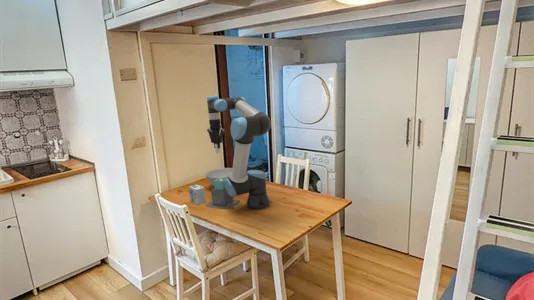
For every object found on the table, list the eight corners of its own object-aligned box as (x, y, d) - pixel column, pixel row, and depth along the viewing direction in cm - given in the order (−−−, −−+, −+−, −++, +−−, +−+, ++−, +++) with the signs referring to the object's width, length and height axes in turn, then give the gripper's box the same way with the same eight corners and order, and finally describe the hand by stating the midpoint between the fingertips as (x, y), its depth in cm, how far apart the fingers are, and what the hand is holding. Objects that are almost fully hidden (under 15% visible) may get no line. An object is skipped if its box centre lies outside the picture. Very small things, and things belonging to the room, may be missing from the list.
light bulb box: (190, 201, 233) (188, 186, 230) (198, 198, 237) (197, 184, 234) (197, 204, 225) (195, 189, 222) (206, 202, 229) (204, 187, 226)
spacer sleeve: (228, 187, 222) (227, 178, 221) (223, 190, 216) (222, 181, 215) (220, 186, 225) (219, 177, 223) (214, 189, 219) (214, 180, 218)
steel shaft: (225, 201, 223) (223, 178, 220) (223, 202, 221) (221, 179, 218) (222, 200, 224) (220, 178, 221) (220, 202, 222) (218, 179, 219)
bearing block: (240, 201, 225) (238, 186, 223) (229, 209, 213) (227, 193, 211) (217, 199, 233) (216, 183, 231) (206, 206, 221) (204, 190, 218)
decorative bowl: (203, 186, 264) (201, 171, 261) (235, 180, 274) (233, 166, 272) (212, 196, 240) (211, 180, 237) (247, 188, 250) (245, 173, 248)
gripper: (203, 119, 224) (206, 153, 229) (219, 119, 218) (222, 154, 223) (209, 118, 230) (213, 151, 235) (225, 118, 225) (228, 152, 230)
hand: (217, 152), depth 229 cm, fingers closed
